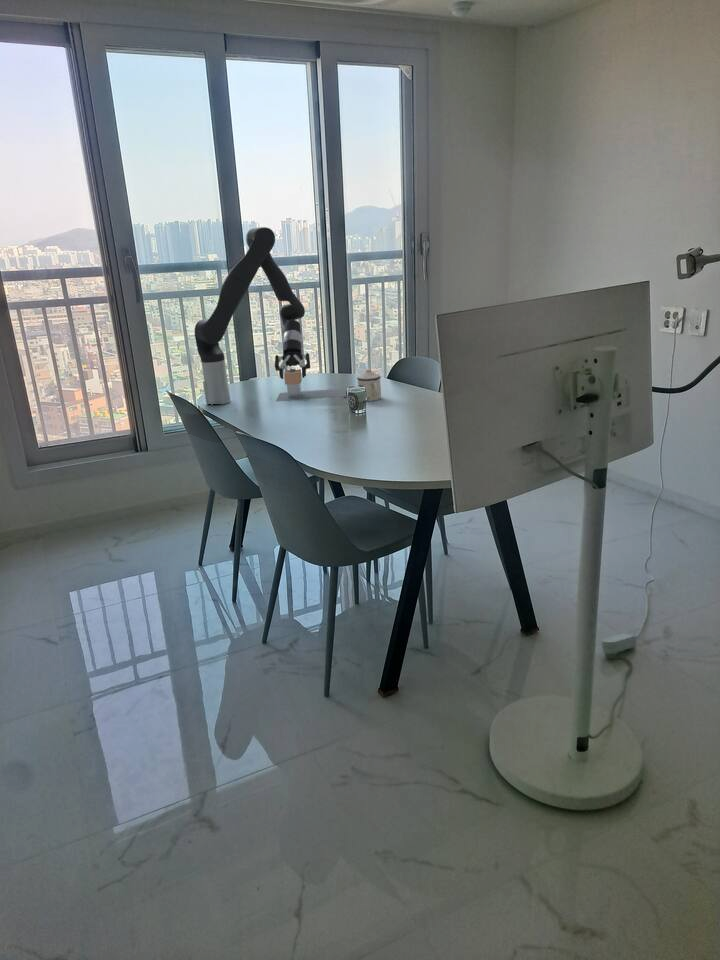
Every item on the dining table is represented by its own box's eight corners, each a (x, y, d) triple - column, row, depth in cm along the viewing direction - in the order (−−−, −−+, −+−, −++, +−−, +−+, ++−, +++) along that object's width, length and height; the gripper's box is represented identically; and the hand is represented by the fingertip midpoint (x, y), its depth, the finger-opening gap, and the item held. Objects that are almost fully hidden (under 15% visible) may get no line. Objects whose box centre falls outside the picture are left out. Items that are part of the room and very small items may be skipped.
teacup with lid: (355, 398, 259) (353, 369, 255) (376, 394, 262) (374, 365, 258) (366, 404, 249) (364, 374, 244) (388, 401, 251) (386, 370, 247)
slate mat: (276, 402, 262) (275, 401, 261) (280, 394, 275) (279, 392, 275) (346, 397, 261) (346, 396, 261) (346, 389, 274) (346, 388, 274)
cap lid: (285, 384, 263) (283, 371, 261) (286, 381, 269) (285, 368, 267) (300, 383, 263) (299, 370, 261) (301, 380, 269) (300, 367, 267)
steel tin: (288, 397, 266) (285, 375, 262) (289, 394, 270) (287, 373, 267) (300, 396, 265) (298, 374, 262) (301, 393, 270) (299, 372, 267)
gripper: (273, 339, 267) (273, 373, 261) (308, 337, 267) (309, 371, 260) (276, 350, 274) (276, 383, 267) (310, 348, 274) (311, 381, 267)
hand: (292, 377), depth 264 cm, fingers open, 8 cm apart
